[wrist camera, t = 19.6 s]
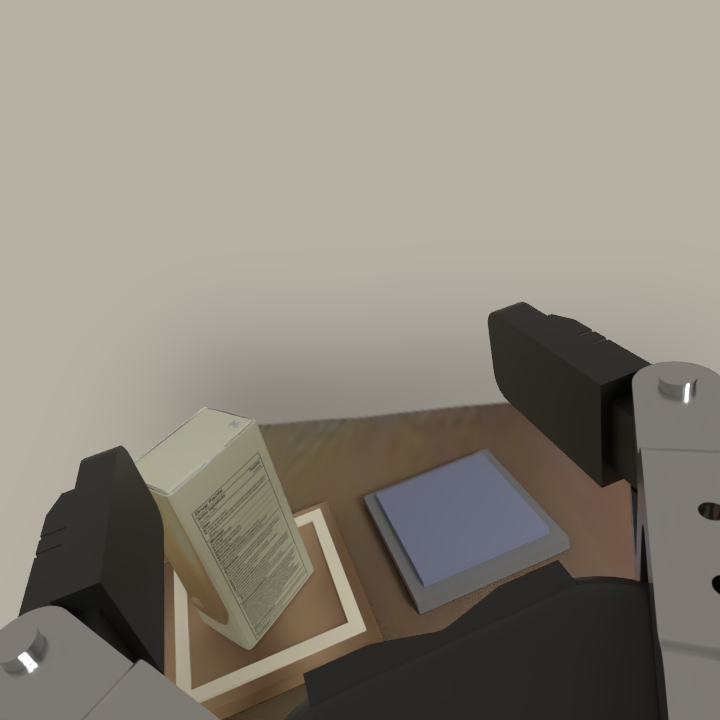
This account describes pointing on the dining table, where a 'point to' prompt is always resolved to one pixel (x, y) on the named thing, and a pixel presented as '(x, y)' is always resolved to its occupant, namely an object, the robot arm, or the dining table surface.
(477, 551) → the ink pad
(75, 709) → the robot arm
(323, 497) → the dining table surface
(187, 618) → the marked board
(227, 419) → the skincare box
